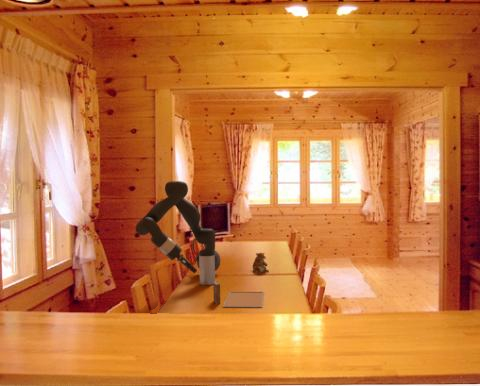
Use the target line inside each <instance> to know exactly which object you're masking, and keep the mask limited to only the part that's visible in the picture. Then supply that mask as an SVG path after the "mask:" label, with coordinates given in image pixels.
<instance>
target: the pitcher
mask: <svg viewBox="0 0 480 386" xmlns="http://www.w3.org/2000/svg"><path fill="white" fill-rule="evenodd" d="M215 236H218V234H217V233H215ZM196 241H197V240H196V238H195V237H194V238H193V239H192V242H191V248H192V251H193V252H194V255H195V257H196V258H195V261H194V262H193V265H195V264H196V265H197V267H198V270H200V265H199V253H198V255H197V252H196V250H195V246H194V245H195V242H196ZM206 245H207V244H204V249H205V248H206ZM214 259H215V272H216V271H218V269H220V266H221V256H220V254H219V252H218V251H216V250H215V252H214Z"/></svg>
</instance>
